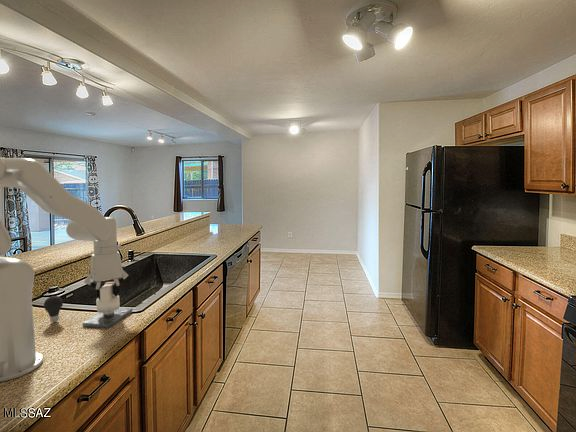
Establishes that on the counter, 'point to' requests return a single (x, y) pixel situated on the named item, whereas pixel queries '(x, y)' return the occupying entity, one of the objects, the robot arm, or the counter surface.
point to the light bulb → (53, 307)
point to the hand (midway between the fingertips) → (107, 296)
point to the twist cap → (107, 299)
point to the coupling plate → (107, 318)
